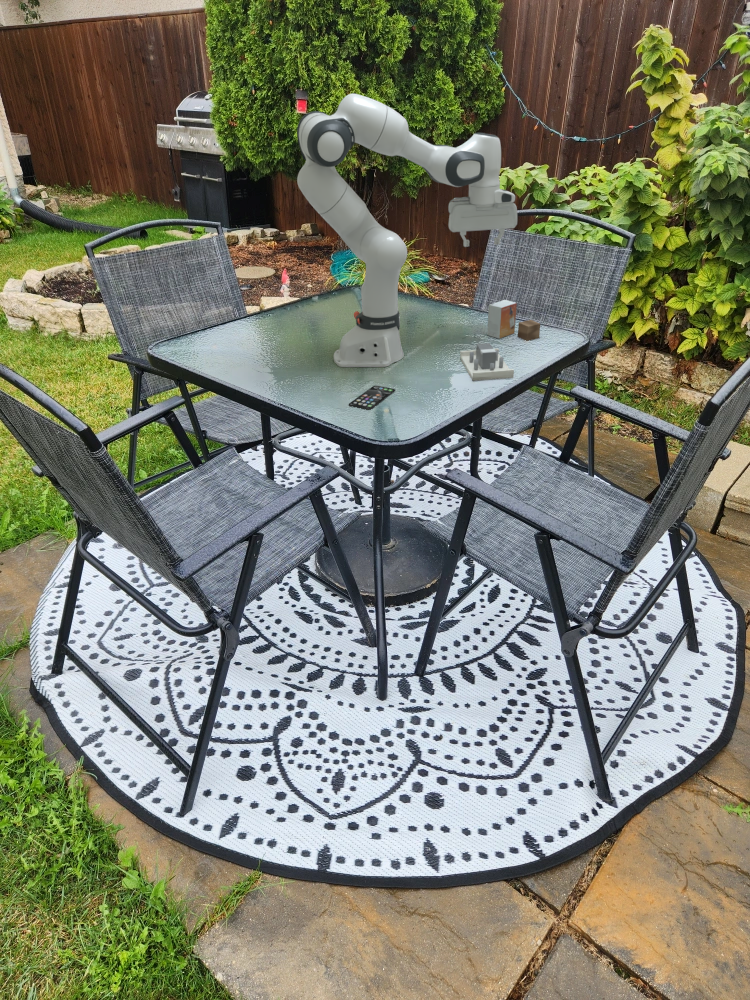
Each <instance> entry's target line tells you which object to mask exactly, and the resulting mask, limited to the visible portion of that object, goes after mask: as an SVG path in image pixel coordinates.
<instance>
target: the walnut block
mask: <svg viewBox="0 0 750 1000" xmlns="http://www.w3.org/2000/svg"><path fill="white" fill-rule="evenodd" d="M540 332H541V323H540V322H537V321H535V320H533V319H528V320H524V321H520V322H518V326H517V337H518V338H519V339H521V340H523V341H525V340H526V341H525V342H530V341H533V340H538V338H539V339H540V335H541V334H540ZM529 340H530V341H529Z"/></svg>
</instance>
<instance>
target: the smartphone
mask: <svg viewBox="0 0 750 1000" xmlns="http://www.w3.org/2000/svg"><path fill="white" fill-rule="evenodd" d="M395 392H396V389H395V388H390V387H386V386H381V385H372V386H371V387H370V388H369V389H366V391H364V392H363V393H362V394H360V395H359V396H358V397H357V396H356V398H354V399H353V400H352V401H351V402H349V403H348V406H349V407H351V406H353V407H352V408H355V407H357V408H356V409H360V408H361V410H365V409H366V410H365V411H372V410H373V409H375V408H376V407H377V406H378V405H379V403H380V404H381V403H382V402H384V401H385V400H386V399H388V397H390V396H391V395H392V394H394V393H395ZM375 406H376V407H375ZM371 409H372V410H371Z"/></svg>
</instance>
